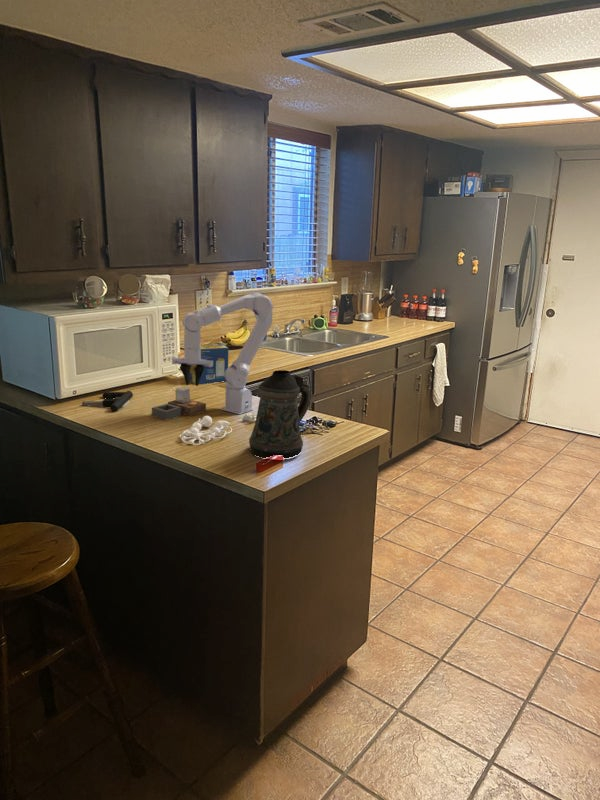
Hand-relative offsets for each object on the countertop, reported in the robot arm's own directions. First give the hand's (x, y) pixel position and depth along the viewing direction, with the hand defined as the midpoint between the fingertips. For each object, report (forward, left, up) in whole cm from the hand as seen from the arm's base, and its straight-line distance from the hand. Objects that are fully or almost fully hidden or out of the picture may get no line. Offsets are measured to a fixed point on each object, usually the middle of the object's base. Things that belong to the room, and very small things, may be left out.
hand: (192, 384), depth 216 cm
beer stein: (-46, +10, -11) cm, 48 cm away
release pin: (0, 0, -10) cm, 10 cm away
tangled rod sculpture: (-21, +15, -11) cm, 28 cm away
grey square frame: (+4, +9, -10) cm, 14 cm away
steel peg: (+5, 0, -10) cm, 12 cm away
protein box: (+28, -38, -11) cm, 48 cm away
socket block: (+3, 0, -10) cm, 11 cm away
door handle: (+31, +13, -11) cm, 35 cm away
